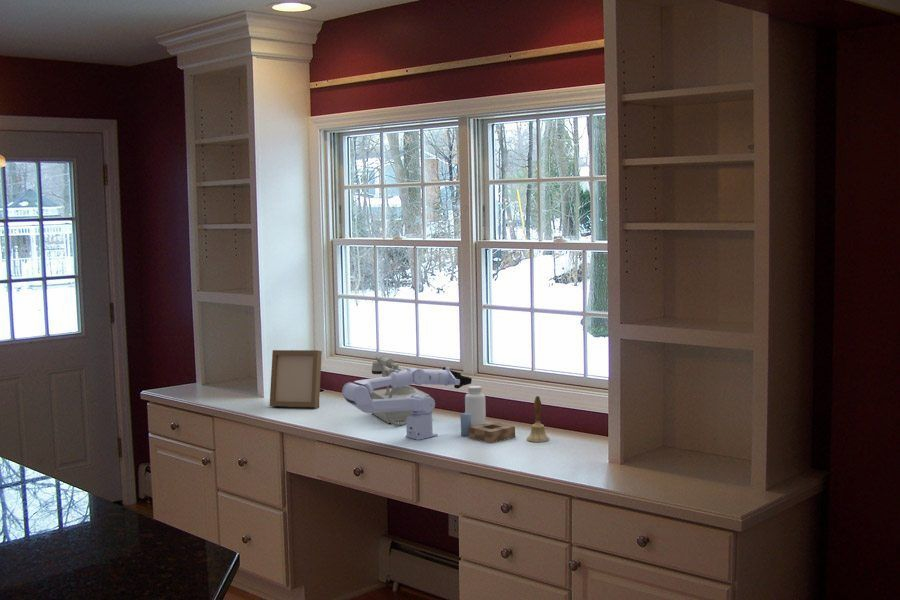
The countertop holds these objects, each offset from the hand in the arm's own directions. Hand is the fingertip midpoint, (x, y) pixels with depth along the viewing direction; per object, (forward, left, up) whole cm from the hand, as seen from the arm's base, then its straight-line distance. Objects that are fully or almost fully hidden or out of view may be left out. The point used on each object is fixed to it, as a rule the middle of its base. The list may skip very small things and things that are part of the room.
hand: (465, 378), depth 376 cm
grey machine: (-7, +35, -20) cm, 41 cm away
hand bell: (+5, -34, -20) cm, 39 cm away
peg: (-8, -9, -19) cm, 23 cm away
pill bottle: (+6, +2, -20) cm, 21 cm away
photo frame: (-22, +90, -20) cm, 95 cm away
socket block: (-4, -19, -19) cm, 27 cm away
